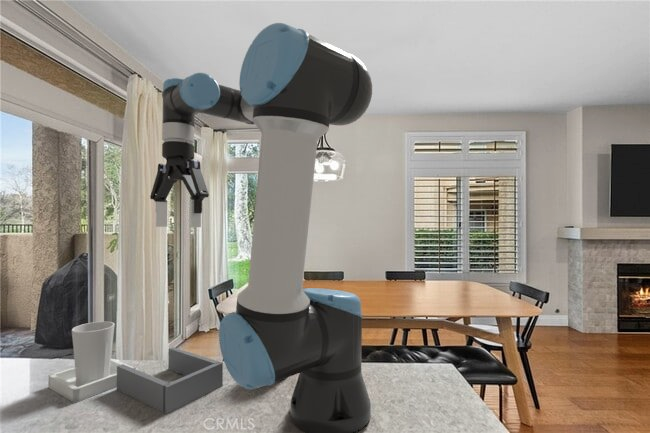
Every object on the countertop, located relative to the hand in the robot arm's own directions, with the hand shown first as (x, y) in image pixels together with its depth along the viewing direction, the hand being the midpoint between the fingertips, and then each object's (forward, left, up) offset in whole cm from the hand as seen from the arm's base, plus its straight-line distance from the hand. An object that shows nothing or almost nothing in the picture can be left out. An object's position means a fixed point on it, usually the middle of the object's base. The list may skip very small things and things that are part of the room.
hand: (177, 227), depth 88 cm
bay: (-9, +8, -35) cm, 37 cm away
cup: (+7, +16, -34) cm, 38 cm away
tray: (+7, +16, -35) cm, 39 cm away
